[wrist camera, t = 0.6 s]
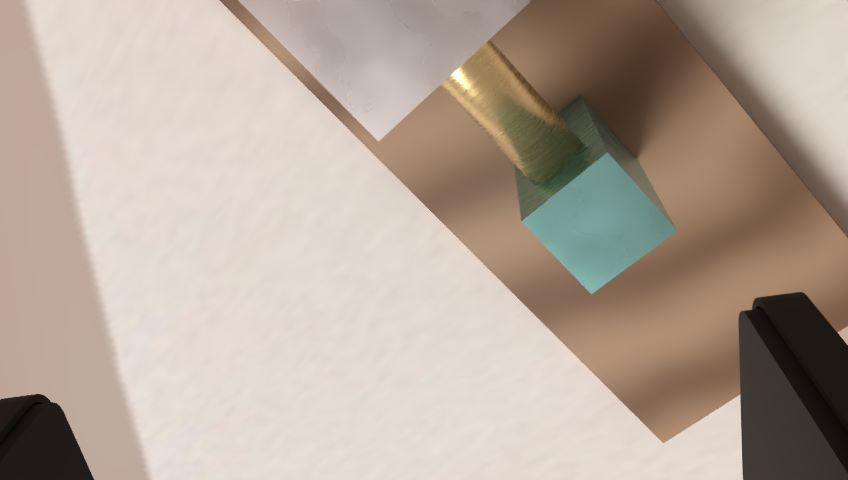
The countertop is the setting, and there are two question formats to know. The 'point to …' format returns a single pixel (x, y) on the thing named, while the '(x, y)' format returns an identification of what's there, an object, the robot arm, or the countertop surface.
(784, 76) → the countertop surface
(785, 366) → the robot arm
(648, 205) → the brass rod with block
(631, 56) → the walnut board
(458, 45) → the block
